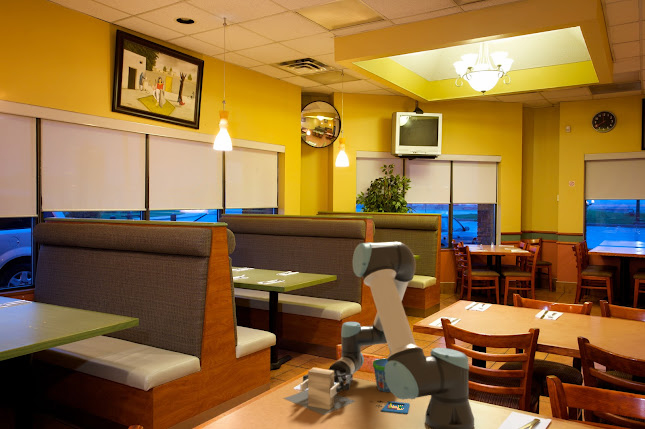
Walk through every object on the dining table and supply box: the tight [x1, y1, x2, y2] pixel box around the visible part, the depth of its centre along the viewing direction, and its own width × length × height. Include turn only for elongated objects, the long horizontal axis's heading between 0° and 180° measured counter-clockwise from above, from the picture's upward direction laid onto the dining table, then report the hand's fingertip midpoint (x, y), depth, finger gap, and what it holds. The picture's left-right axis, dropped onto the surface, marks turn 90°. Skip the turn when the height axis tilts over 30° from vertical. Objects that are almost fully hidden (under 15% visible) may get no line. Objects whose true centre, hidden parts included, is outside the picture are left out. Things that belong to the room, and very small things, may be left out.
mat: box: [283, 389, 356, 416], centre depth 179 cm, size 20×16×1 cm
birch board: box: [307, 367, 335, 410], centre depth 174 cm, size 4×8×12 cm, turn 65°
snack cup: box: [372, 358, 392, 393], centre depth 190 cm, size 16×10×10 cm
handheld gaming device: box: [370, 400, 410, 415], centre depth 174 cm, size 8×1×15 cm
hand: (316, 390), depth 170 cm, fingers open, 10 cm apart
